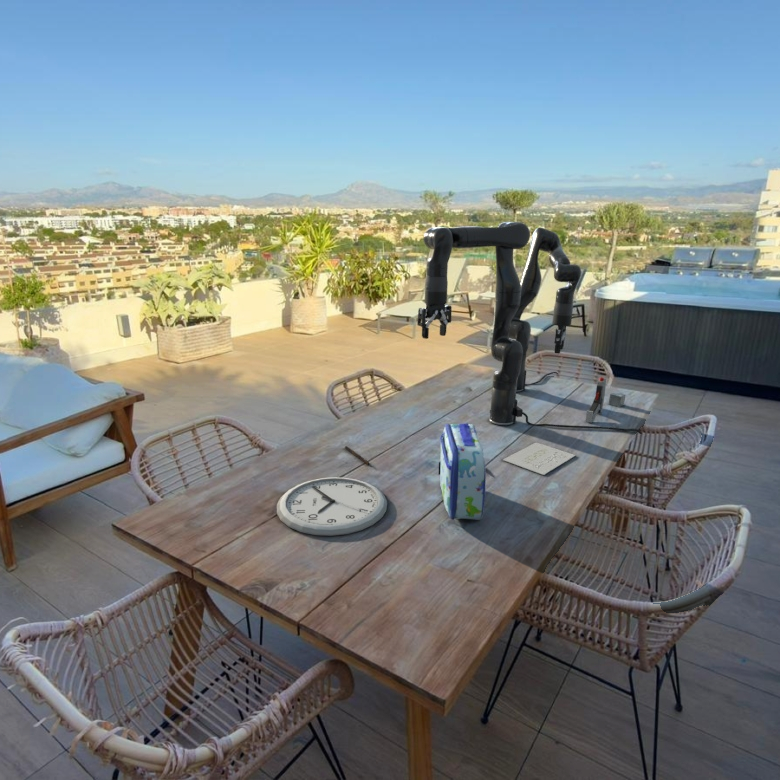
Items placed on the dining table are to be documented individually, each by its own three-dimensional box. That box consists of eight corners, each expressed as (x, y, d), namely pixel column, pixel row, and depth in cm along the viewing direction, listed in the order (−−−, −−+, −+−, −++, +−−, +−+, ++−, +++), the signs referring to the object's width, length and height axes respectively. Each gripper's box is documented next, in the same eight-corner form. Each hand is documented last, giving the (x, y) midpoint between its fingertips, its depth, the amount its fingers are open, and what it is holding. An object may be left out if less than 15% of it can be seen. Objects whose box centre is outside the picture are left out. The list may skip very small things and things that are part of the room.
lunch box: (436, 479, 158) (439, 414, 152) (472, 480, 158) (476, 415, 152) (443, 526, 133) (448, 451, 127) (486, 527, 133) (492, 452, 127)
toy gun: (589, 386, 202) (601, 375, 213) (585, 424, 208) (596, 411, 219) (595, 387, 201) (607, 376, 212) (591, 425, 207) (602, 412, 218)
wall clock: (392, 527, 129) (268, 531, 127) (391, 533, 130) (269, 537, 127) (383, 473, 158) (282, 475, 155) (383, 478, 158) (282, 480, 156)
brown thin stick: (344, 448, 179) (344, 445, 179) (346, 448, 179) (346, 445, 179) (367, 464, 167) (367, 462, 167) (368, 464, 167) (368, 461, 167)
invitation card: (535, 442, 186) (575, 454, 176) (535, 442, 187) (575, 455, 176) (502, 459, 172) (543, 474, 162) (502, 460, 172) (543, 475, 162)
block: (608, 404, 230) (610, 393, 228) (613, 402, 233) (614, 391, 231) (619, 407, 226) (620, 396, 225) (624, 405, 229) (625, 394, 228)
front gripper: (429, 292, 168) (427, 341, 173) (458, 289, 177) (456, 336, 182) (413, 289, 174) (411, 337, 179) (442, 287, 183) (440, 332, 188)
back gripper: (570, 316, 211) (565, 355, 216) (574, 311, 223) (569, 348, 228) (551, 315, 214) (546, 353, 219) (555, 310, 226) (551, 347, 231)
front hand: (434, 336), depth 180 cm, fingers open, 8 cm apart
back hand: (558, 351), depth 223 cm, fingers open, 8 cm apart
